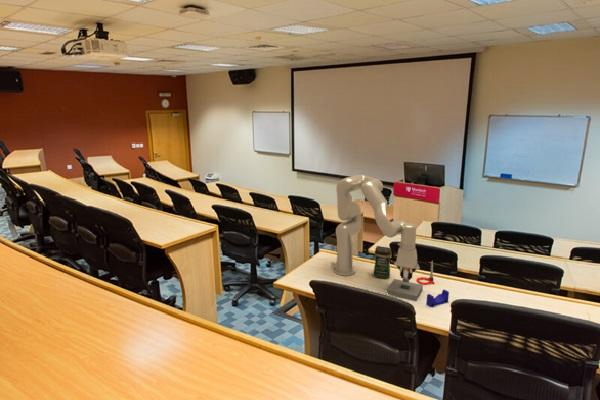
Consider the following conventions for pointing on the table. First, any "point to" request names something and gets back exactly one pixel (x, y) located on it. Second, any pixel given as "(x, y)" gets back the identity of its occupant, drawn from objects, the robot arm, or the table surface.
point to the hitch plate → (405, 289)
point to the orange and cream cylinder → (406, 274)
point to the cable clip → (437, 299)
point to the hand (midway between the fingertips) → (406, 277)
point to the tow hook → (427, 278)
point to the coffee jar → (382, 262)
